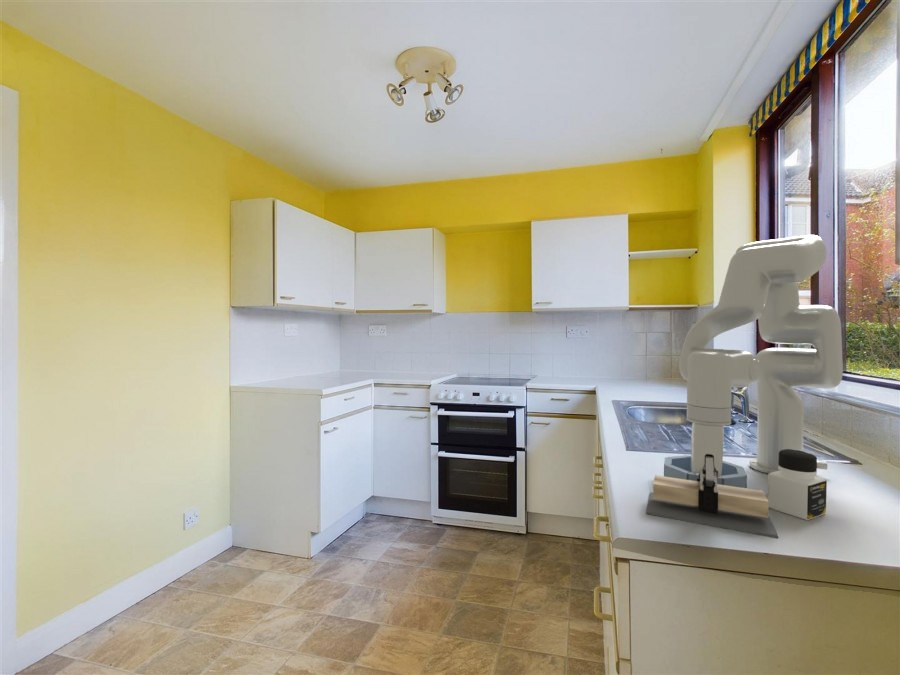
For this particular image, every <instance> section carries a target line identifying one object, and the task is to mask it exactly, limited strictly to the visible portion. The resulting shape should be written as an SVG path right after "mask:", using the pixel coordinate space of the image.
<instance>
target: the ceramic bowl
mask: <svg viewBox="0 0 900 675" xmlns="http://www.w3.org/2000/svg"><path fill="white" fill-rule="evenodd" d="M663 476H664V477H671V478H678V479H685V480H692V481H697V478H698V479H700V478H699V473H696V475H695V474H693V473H692V469H691V455H686V454H685V455H675V456H674V455H673V456H666V457H664V463H663ZM717 484H720V485H727V486H734V487H741V488H748V486H747V485H748V475H747V472H746V470H745V468H744V467H743V466H741V465H737V464H734V463H732V462H728V461H725V460H723V461H722V473H721V476H720V477H718V478H717Z"/></svg>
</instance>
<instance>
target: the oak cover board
mask: <svg viewBox="0 0 900 675" xmlns="http://www.w3.org/2000/svg"><path fill="white" fill-rule="evenodd" d="M652 483H653V484H652V487H653V488H652V489H653V491H652V492H653V499H658V500H664V501H670V502H676V503H682V504H688V505H694V506H698V492H699V489H700V482H698V481H692V480H685V479H678V478H671V477H664V475H657V474H655V475H654V478H653V482H652ZM703 486H704V484H703ZM717 492H718V510H724V511H730V512H736V513H742V514H748V515H754V516H760V517H766V518H768V515H769V509H770V508H769V501H768V496H766V493H765V490H760V489H753V488H748V487H747V488H741V487H734V486H727V485H720V484H717ZM769 516H770V515H769Z"/></svg>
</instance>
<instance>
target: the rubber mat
mask: <svg viewBox="0 0 900 675" xmlns="http://www.w3.org/2000/svg"><path fill="white" fill-rule="evenodd" d="M647 500H648V502H647V507H646V515H649V516H651V515H652V516H657V517H662V518H668V519H673V520H679V521H683V522H684V521H685V522H689V523H690V522H691V523H694V524H695V523H696V524H700V525H705V526H711V527H712V526H713V527H716V528H717V527H718V528H721V529H728V530H732V529H733V531H738V530H740V531H739V532H743V531H745V532H744V533H749V532H750V534H755V535H760V536H765V535H766V537H771V538H776V539H777V538H779V534H778V533H777V530H776V528H775V526H774V524H773V522H772V519H771V517H770V515H768V518H766V517H760V516H754V515H748V514H742V513H736V512H730V511H724V510H718V513H716V514H715V513H709V512H703V511H699V509H698V506H694V505H688V504H682V503H676V502H670V501H664V500H658V499H653V491H650V492H649V495H648V499H647Z"/></svg>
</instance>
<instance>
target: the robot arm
mask: <svg viewBox="0 0 900 675" xmlns="http://www.w3.org/2000/svg"><path fill="white" fill-rule="evenodd" d="M826 259H827V246H826V243H825V241H824V240H823V239H822V238H821V237H820V236H818V235H815V234H808V235H800V236H791V237H784V238H775V239H767V240H760V241H754V242H750V243H746V244H744V245H743V244H742V245H741V246H739V247H738V248H737V249H736V250H735V253H734V254H733V255H732V256H731V258H730V261H729V263H728V268H727V271H726V274H725V277H724V282H723V286H722V289H721V293H720V296H719V299H718V303H717V305H715V306H714V307H713V308H712V309H710V310H709V311H708V312H706V313H704V314H703V316H701V317H700V318H699V319H698V320H697V321H696V322H695V323H694V324H693V325H692V326H691V327H690V329H689V330H688V332H687V334H686V336H685V339H684V342H683V346H682V348H681V352H680V357H679V362H678V367H679V368H678V370H679V374H680V375H681V377H682V378H683V379H684V380H685V381H687V382H686V383H687V384H686V385H687V386H686V421H688V422H689V423H692V424H691V425H692V426H691V439H690V440H691V442H690V444H691V446H690V448H691V449H690V450H691V451H690V453H691V455H690V456H691V469H692V473H693V474H695V475H696V473H699V478H700V479H698V478H697V481H698V482H700V489H699V492H698V509H699V511H703V512H709V513H715V514H716V513H718V492H717V478H718V477H720V476H721V473H722V461H724V459H723V458H724V438H725V437H724V436H725V434H724V431H725V430H724V429H725V428H724V427H726V426H730V425H732V388H745V387H749V386H750V385H753V384H754V383H755V382H756V385H757V386H756V387H757V427H756V428H757V429H756V430H757V431H756V434H757V435H756V458H753V459H751V460H749V466H750V468H752V469H753V470H756V471H759V472H761V473H764V474H767V475H768V474H769V473H772V472H776V471H780V470H779V469H778V459H779V452H780V451H781V450H785V449H796V450H802V451H804V424H805V423H804V421H805V420H804V418H805V417H804V416H805V405H804V402H803V400H802V398H801V396H800V395H799V394H798V393H797V391H795V389H794V388H793V387H803V388H811V389H812V388H813V389H834V388H835V387H837V386H839V385H840V383H841V381H842V379H843V372H844V370H843V369H844V365H843V343H842V341H843V339H842V323H841V318H840V315H839V313H838V311H837V310H836V308H834V307H833V306H830V305H823V304H810V305H809V304H808V305H807V304H806V305H802V304H801V303H800V294H799V285H798V283H801V282H804V281H806V280H808V279H810V278H811V277H813V275H814V274H816V273H818V272H819V271H820V270H821V268H822V267H823V266H824V265H825V261H826ZM756 320H758V321H757V322H758V331H759V335H760V337H761V340H763V341H764V342H767V343H771V344H779V345H781V344H782V345H783V344H784V345H810V346H812V347H813V348H799V347H770V348H765V349H762V350H760V351H759V352H758V353H757V354H756V355H754V354H753V353H751V352H749V351H747V350H741V349H723V348H706V346H707V345H708V344H709V342H710V341H712V340H713V339H714V338H716V337H717V336H719V335H721V334H724V333H725V332H729V331H731V330H734V329H736V328H739V327H743V326H745V325H748V324H750V323H752V322H755V321H756ZM818 469H819V470H824V471H825V470H828V462H827V461H823V460H818V459H817V470H818ZM703 484H704V486H703Z"/></svg>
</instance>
